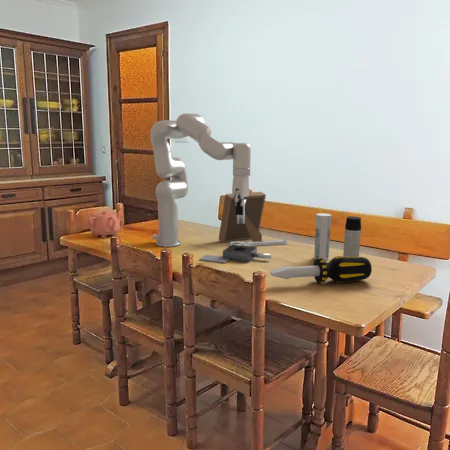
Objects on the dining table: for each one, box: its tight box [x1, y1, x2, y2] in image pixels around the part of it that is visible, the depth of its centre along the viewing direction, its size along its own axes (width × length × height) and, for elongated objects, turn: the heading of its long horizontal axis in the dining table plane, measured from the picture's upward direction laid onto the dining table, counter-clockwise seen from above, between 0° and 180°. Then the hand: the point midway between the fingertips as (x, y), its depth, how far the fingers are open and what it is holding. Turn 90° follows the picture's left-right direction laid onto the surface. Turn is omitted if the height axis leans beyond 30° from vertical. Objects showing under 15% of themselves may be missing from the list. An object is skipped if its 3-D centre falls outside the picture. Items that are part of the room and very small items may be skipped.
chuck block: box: [222, 245, 272, 263], centre depth 208 cm, size 20×12×4 cm, turn 69°
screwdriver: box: [269, 255, 373, 285], centre depth 174 cm, size 39×10×10 cm, turn 103°
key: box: [237, 196, 248, 224], centre depth 205 cm, size 6×3×12 cm, turn 69°
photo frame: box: [218, 191, 266, 244], centre depth 237 cm, size 15×22×25 cm
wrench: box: [229, 239, 288, 247], centre depth 232 cm, size 8×2×30 cm
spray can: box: [342, 216, 362, 257], centre depth 201 cm, size 7×7×20 cm
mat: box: [198, 254, 230, 264], centre depth 206 cm, size 12×8×1 cm, turn 69°
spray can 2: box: [313, 212, 332, 261], centre depth 208 cm, size 6×6×20 cm
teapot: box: [87, 209, 124, 239], centre depth 249 cm, size 16×17×14 cm
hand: (240, 213), depth 205 cm, fingers closed on key, 3 cm apart
